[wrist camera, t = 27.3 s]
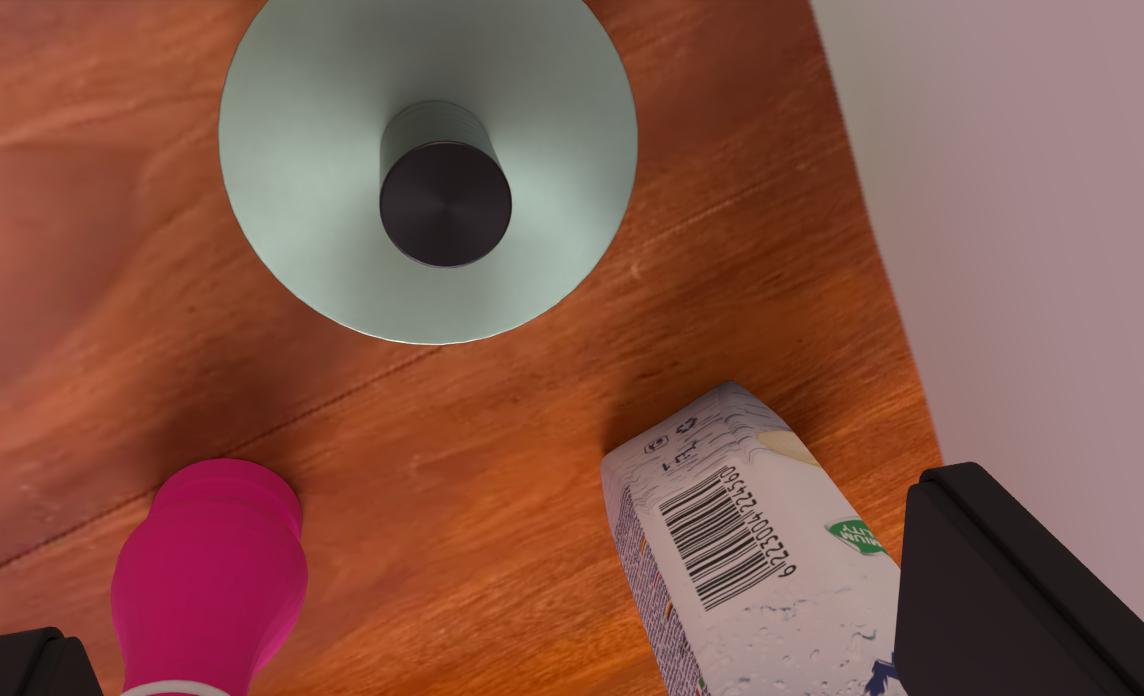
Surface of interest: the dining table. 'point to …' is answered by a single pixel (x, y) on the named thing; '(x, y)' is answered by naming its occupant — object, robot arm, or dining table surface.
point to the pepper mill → (209, 581)
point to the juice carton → (749, 558)
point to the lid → (428, 158)
